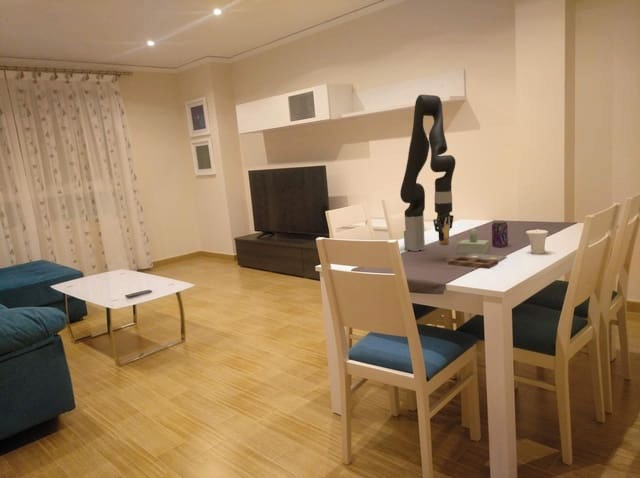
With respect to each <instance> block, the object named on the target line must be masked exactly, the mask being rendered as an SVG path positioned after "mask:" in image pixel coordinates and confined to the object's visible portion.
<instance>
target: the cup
mask: <svg viewBox="0 0 640 478" xmlns="http://www.w3.org/2000/svg"><path fill="white" fill-rule="evenodd" d="M525 233H526V235H527V237H528V240H529V243H530V253H531V254H533V255H544V254H545V253H546V250H545V247H546V240H547V237H548V236H547V235H548V234H549V231H548V230H545V229H538V228H537V229H532V230H526V232H525Z"/></svg>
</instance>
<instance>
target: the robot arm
mask: <svg viewBox="0 0 640 478" xmlns="http://www.w3.org/2000/svg"><path fill="white" fill-rule="evenodd" d="M413 112H414V113H413V123H412V124H413V125H412V132H411V138H410V143H409V147H408V148H409V149H408V153H407V161H406V166H405V172H404V175H403V176H404V177H403V180H402V183H401V187H400V194H399V195H400V196H399V197H400V199H401V201H402V202H403V203H405V204H409V205H408V207H407V208H406V209H405V211H404V226H405V227H404V228H405V229H404V231H403V241H404V244H403V245H404V246H403V247H404V250H405V249H406V250H405V251H408V250H410V251H409V252H420V251H419V250H421V251H424V250H425V249H426V246H425V245H426V243H425V240H426V239H425V223H424V222H425V220H424V211H425V208H426V207H425V206H426V205H425V204H426V192H425V189H424V186H423V185H422V184H421V183H419V182H417V180H418V177H419V174H420V172H421V171H422V170H423V168H424V166H425V165H426V164H427V163H426V162H427V160H428V157H429V152H430V153H431V154H430V165H429V167H430V169H431V171H432V172H433V173H444V174H443V175H442V176H440V177H438V178H436V179H434V213H436V218H434V219H433V220H432V221H433V226H434V230H435V232H437V233H438V241H444V227H445V225H446V224H448V225H449V231H450V230H451V229H453V223H454V222H453V221H454V215H451V213H452V212H453V193H452V191H453V190H452V181H453V175H454V171H455V168H456V159H455V157H454V156H453V155H451V154H445V153H446V152H447V151H448V144H447V143H448V142H447V141H446V139H447V138H446V135H445V130H444V115H443V104H442V100H441V98H440V97H439V96H438V95H432V94H419V95H418V96H417V97H416V100H415V104H414V111H413ZM425 116H426V117H432V118H433V125H432V127H431V128H430V130H429V133H428V135H427V133H426V131H425V129H424V117H425ZM444 154H445V155H444ZM441 227H442V229H441Z"/></svg>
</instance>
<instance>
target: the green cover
mask: <svg viewBox="0 0 640 478" xmlns="http://www.w3.org/2000/svg"><path fill="white" fill-rule="evenodd" d="M477 232H478V230H477V228H470V229H469V239H463V240H460V241H458V242H457V253H458V254H468V255H469V254H472V253H474V254H485V255H486V254H487V253H488V252H489V251H490V240H487V239H486V240H485V239H484V240H483V239H482V240H481V239H478V237H477Z"/></svg>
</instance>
